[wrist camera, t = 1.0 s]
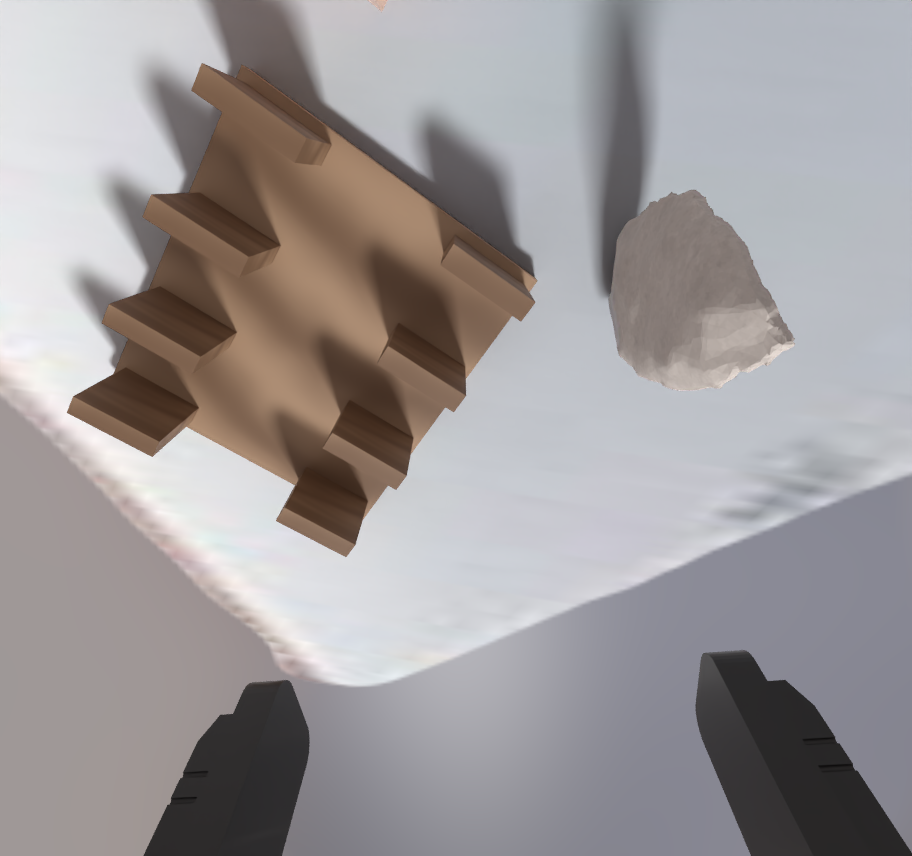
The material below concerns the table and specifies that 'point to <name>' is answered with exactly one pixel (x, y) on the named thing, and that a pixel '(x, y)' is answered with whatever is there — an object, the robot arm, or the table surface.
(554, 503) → the table surface
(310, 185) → the drying rack
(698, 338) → the stone tool
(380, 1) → the peach rectangular block
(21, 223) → the table surface
